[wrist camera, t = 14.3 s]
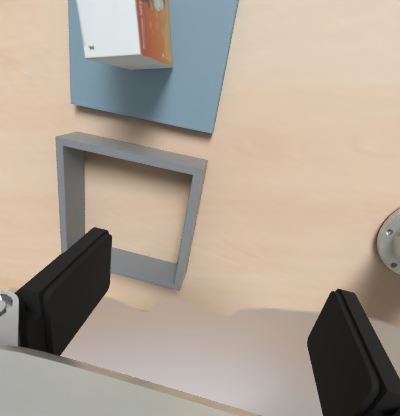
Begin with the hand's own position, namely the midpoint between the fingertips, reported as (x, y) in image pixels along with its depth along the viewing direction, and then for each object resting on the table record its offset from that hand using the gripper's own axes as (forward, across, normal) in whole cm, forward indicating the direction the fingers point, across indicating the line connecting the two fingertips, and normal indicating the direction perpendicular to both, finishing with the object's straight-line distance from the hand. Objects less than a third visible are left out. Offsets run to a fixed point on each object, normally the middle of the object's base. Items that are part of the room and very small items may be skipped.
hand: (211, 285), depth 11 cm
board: (+28, +14, -12) cm, 34 cm away
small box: (+27, +14, -12) cm, 32 cm away
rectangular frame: (+28, +14, +12) cm, 34 cm away
